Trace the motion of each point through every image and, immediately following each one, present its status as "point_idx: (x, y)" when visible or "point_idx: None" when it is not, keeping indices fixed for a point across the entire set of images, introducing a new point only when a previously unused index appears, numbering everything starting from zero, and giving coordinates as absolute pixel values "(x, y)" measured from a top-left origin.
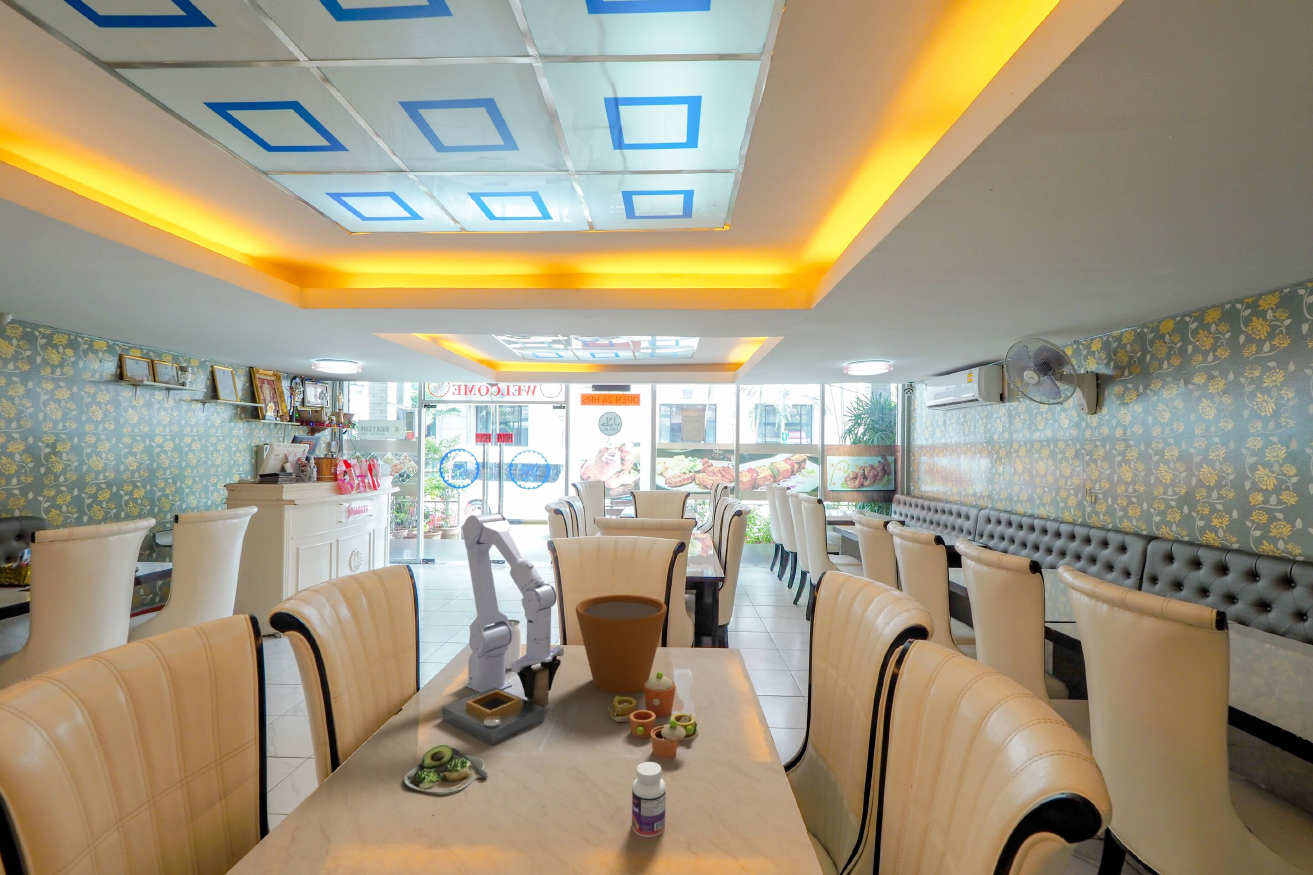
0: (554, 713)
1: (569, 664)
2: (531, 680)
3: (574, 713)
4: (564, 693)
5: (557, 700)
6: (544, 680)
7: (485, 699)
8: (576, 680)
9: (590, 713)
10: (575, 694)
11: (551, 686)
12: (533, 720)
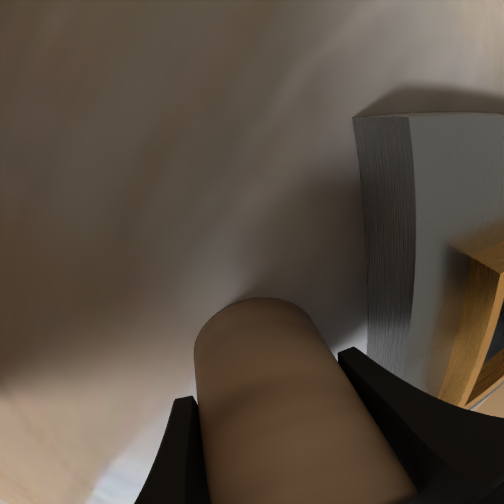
0: (240, 172)
1: (40, 490)
2: (458, 420)
3: (121, 88)
4: (76, 378)
5: (135, 333)
6: (305, 446)
7: (493, 367)
8: (16, 428)
9: (45, 41)
10: (25, 337)
11: (171, 416)
12: (440, 113)
